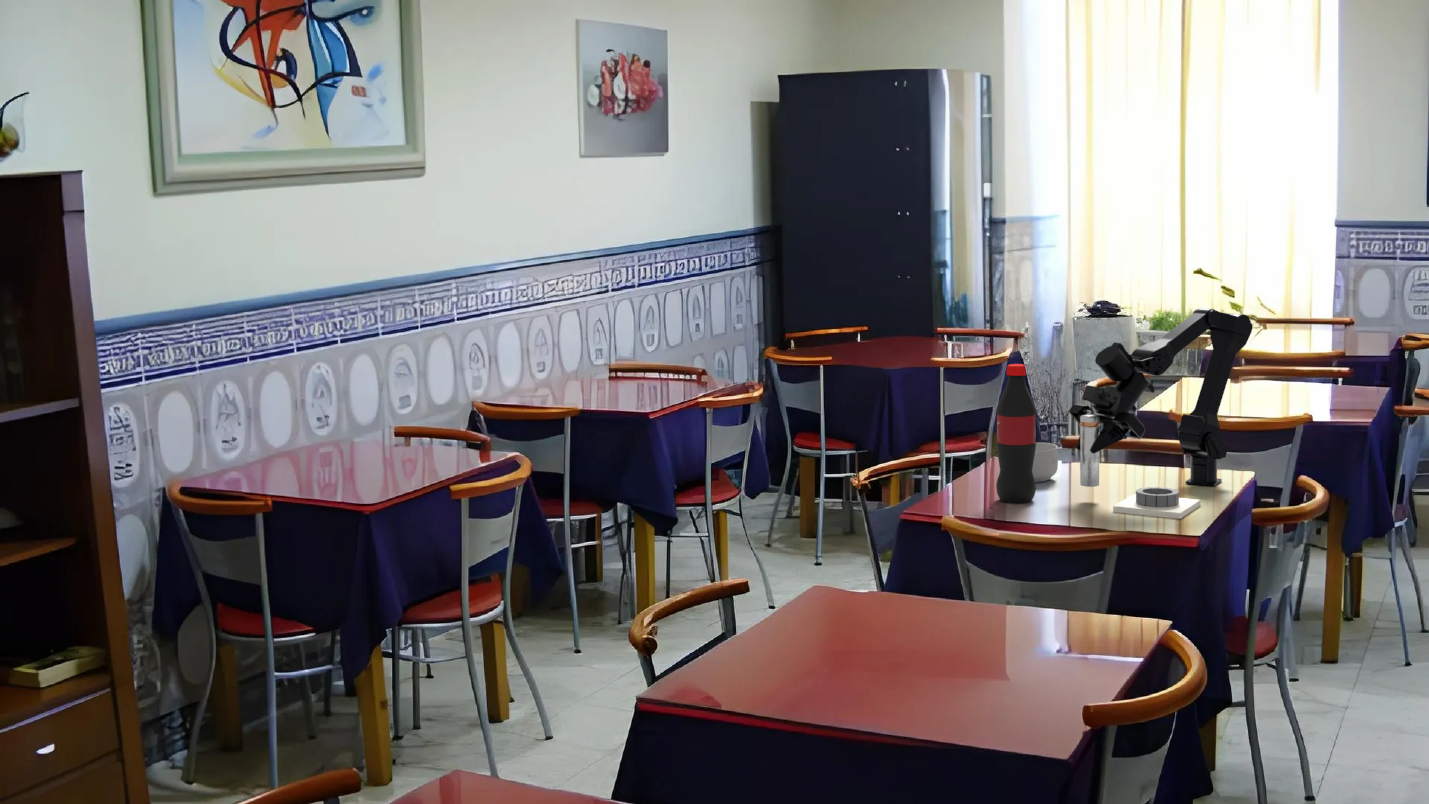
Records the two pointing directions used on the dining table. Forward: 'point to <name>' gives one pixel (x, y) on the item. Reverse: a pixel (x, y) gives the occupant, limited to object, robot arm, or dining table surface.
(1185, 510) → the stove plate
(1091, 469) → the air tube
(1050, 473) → the teacup
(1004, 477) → the cola bottle
